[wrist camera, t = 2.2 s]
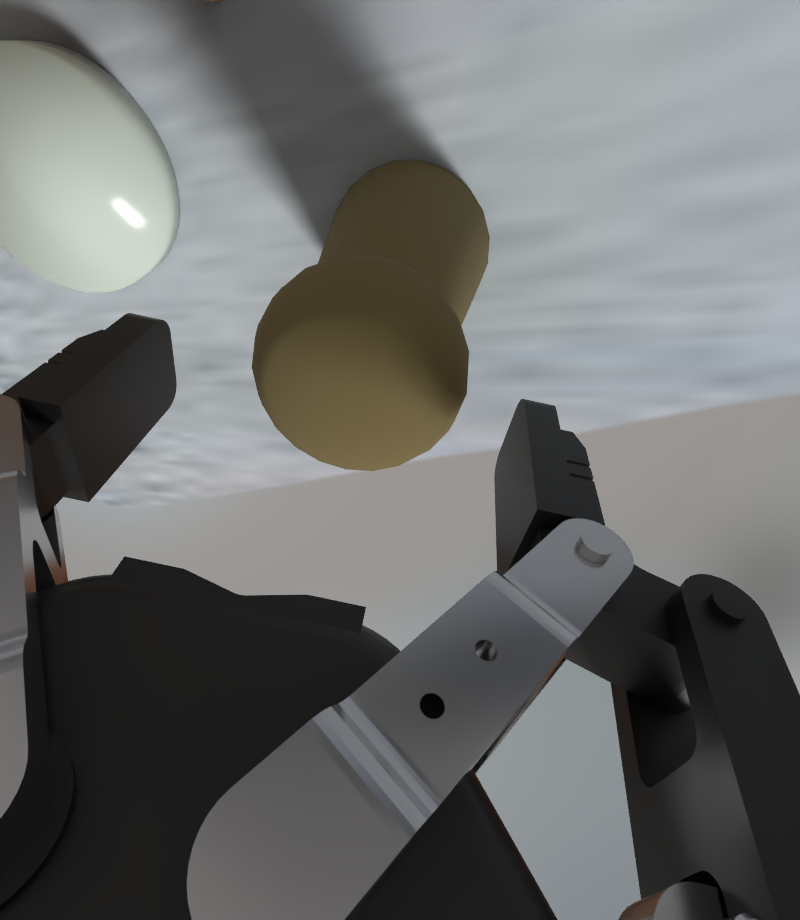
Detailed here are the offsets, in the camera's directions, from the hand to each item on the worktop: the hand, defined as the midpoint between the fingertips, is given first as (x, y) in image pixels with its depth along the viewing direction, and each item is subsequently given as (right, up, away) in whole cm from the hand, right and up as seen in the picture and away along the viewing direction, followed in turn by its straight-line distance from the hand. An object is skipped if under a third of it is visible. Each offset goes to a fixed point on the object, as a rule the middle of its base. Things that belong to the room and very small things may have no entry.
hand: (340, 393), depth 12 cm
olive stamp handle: (+2, +7, +8) cm, 11 cm away
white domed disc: (-11, +10, +8) cm, 17 cm away
